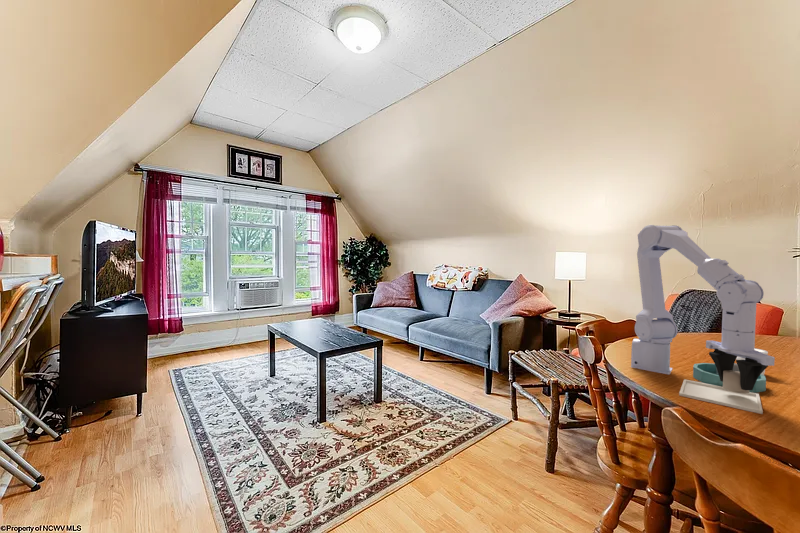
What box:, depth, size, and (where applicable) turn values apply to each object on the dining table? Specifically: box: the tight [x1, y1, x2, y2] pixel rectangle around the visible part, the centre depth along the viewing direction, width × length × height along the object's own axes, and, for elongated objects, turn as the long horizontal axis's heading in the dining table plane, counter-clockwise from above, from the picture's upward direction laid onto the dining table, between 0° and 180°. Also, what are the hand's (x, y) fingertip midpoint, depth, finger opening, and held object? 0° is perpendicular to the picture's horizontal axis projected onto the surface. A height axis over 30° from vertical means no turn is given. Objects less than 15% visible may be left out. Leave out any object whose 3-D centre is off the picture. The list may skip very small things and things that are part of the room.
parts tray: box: [678, 378, 764, 415], centre depth 83 cm, size 14×13×1 cm
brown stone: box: [723, 370, 749, 393], centre depth 82 cm, size 5×5×4 cm
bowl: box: [692, 362, 767, 394], centre depth 92 cm, size 14×14×4 cm
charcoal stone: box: [716, 362, 739, 375], centre depth 94 cm, size 5×5×4 cm
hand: (735, 385), depth 82 cm, fingers closed on brown stone, 5 cm apart
